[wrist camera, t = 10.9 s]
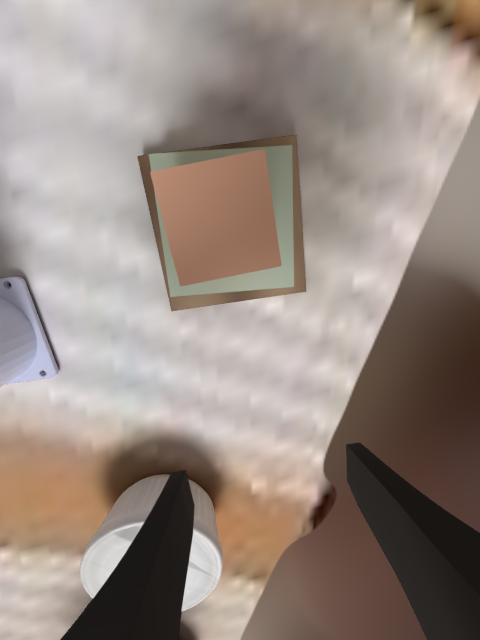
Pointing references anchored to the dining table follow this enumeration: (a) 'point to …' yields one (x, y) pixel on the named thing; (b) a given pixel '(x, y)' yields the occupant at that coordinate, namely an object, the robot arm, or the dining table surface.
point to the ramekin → (126, 525)
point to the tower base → (299, 265)
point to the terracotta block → (218, 217)
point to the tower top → (283, 212)
